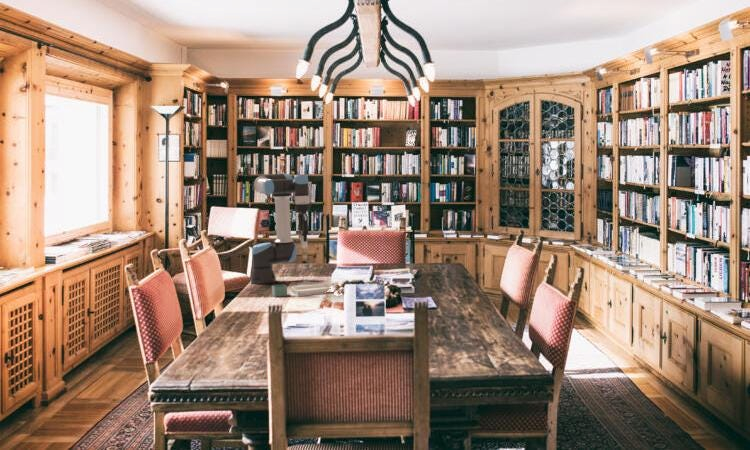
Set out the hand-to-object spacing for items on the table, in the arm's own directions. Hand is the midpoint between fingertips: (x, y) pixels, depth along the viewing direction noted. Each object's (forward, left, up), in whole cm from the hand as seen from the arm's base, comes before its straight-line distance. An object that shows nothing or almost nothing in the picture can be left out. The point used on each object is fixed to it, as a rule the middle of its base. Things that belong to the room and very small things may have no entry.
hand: (304, 247), depth 370 cm
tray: (0, +4, -25) cm, 25 cm away
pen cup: (-1, -15, -25) cm, 29 cm away
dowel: (0, 0, -7) cm, 7 cm away
